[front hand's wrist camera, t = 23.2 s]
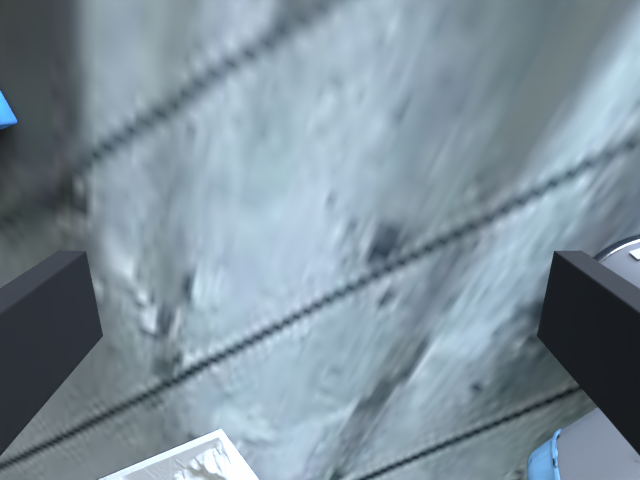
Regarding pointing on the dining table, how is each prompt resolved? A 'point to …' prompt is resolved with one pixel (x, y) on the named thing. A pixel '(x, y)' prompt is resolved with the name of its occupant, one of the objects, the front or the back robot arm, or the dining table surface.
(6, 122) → the ink box
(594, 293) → the front robot arm
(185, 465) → the relief map
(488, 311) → the dining table surface
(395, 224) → the dining table surface
